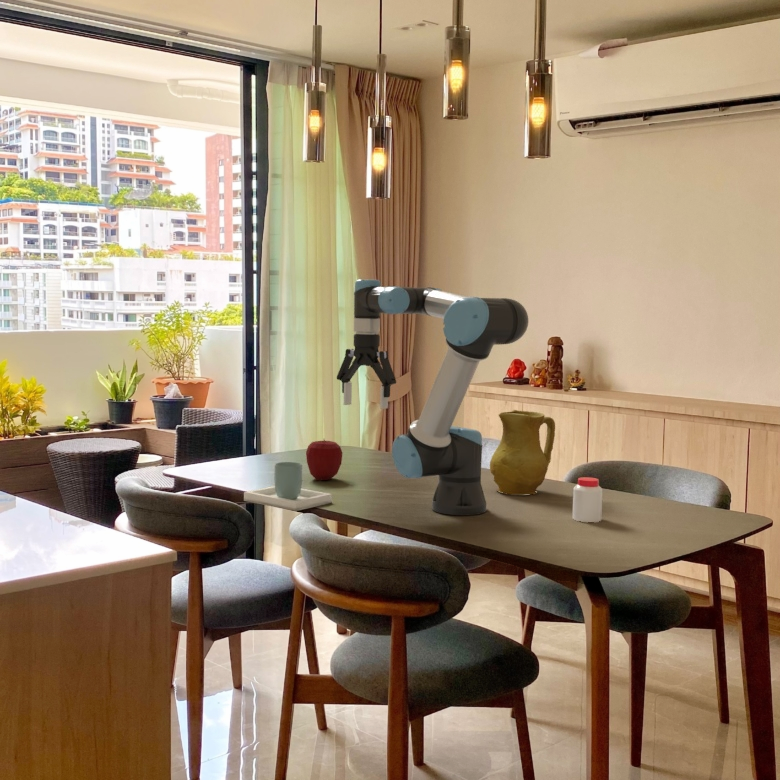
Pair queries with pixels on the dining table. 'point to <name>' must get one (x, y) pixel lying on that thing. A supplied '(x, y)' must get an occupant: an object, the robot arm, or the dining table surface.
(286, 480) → the cup
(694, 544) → the dining table surface
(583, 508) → the pill bottle
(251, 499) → the tray
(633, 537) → the dining table surface
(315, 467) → the apple
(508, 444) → the pitcher
